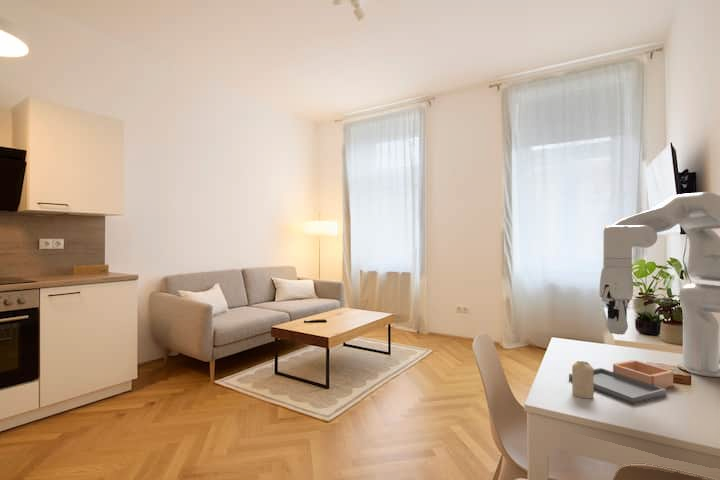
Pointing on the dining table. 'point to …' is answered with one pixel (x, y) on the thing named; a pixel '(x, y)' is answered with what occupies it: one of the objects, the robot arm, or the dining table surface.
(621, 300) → the salt shaker
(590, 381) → the candle
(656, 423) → the dining table surface
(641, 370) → the open container
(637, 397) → the tray
